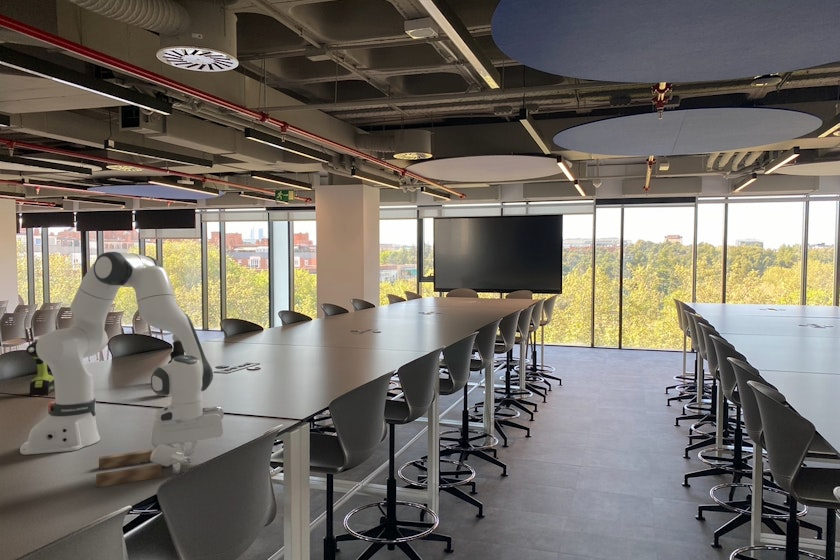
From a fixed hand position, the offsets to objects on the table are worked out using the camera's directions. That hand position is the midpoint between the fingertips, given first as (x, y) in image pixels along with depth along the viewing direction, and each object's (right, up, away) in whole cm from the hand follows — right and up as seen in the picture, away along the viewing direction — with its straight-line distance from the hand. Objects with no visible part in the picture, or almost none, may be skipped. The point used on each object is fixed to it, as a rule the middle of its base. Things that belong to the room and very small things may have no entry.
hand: (188, 455), depth 171 cm
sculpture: (-52, +1, +115) cm, 126 cm away
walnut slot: (-14, -3, -7) cm, 16 cm away
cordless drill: (-103, 0, +86) cm, 135 cm away
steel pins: (-3, -2, -2) cm, 4 cm away
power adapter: (-5, -2, -3) cm, 6 cm away
